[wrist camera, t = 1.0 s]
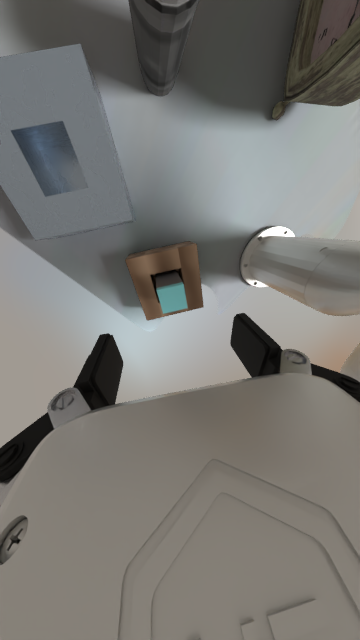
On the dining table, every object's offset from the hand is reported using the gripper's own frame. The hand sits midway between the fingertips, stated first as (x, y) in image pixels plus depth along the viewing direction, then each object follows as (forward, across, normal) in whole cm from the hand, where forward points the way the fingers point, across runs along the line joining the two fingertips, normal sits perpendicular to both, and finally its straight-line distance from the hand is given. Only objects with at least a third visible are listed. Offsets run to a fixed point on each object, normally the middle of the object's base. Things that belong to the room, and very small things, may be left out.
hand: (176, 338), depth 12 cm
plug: (+23, -1, +2) cm, 23 cm away
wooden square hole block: (+24, -1, +2) cm, 24 cm away
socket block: (+24, +11, -15) cm, 30 cm away
